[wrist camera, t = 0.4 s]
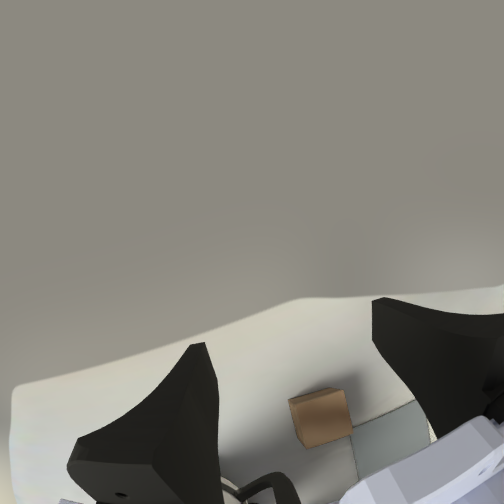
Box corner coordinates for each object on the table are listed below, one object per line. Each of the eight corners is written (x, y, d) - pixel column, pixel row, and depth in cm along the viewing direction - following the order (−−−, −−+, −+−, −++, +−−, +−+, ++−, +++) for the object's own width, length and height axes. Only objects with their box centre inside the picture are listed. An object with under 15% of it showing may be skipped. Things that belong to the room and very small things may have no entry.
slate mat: (430, 461, 28) (432, 461, 27) (362, 496, 27) (363, 497, 26) (420, 397, 32) (422, 397, 32) (348, 429, 31) (349, 430, 31)
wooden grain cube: (338, 425, 32) (353, 433, 26) (297, 437, 31) (306, 449, 26) (329, 387, 34) (343, 390, 28) (288, 399, 33) (295, 405, 28)
